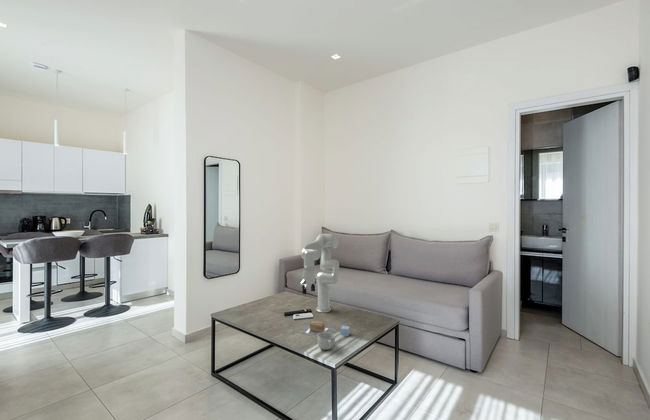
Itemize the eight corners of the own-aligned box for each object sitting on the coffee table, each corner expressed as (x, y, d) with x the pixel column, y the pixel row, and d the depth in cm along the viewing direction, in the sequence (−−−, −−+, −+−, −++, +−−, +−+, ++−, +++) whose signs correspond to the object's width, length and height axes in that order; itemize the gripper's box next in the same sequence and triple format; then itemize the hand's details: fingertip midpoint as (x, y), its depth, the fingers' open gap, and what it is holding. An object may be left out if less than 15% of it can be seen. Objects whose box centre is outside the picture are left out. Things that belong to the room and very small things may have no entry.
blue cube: (342, 332, 213) (342, 325, 213) (349, 333, 211) (349, 326, 211) (340, 335, 208) (340, 328, 208) (347, 336, 206) (347, 329, 206)
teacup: (317, 343, 196) (317, 331, 196) (334, 343, 197) (334, 330, 197) (318, 354, 182) (318, 341, 182) (336, 354, 183) (336, 340, 183)
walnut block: (312, 328, 219) (312, 321, 219) (324, 329, 217) (324, 322, 216) (309, 331, 214) (309, 323, 214) (322, 332, 212) (322, 325, 212)
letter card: (306, 324, 225) (306, 324, 225) (334, 328, 219) (334, 328, 219) (299, 332, 212) (299, 332, 212) (328, 336, 206) (328, 336, 206)
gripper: (312, 266, 229) (312, 289, 229) (297, 269, 215) (296, 294, 215) (320, 267, 224) (320, 290, 225) (305, 271, 210) (305, 296, 210)
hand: (308, 292), depth 220 cm, fingers open, 9 cm apart
